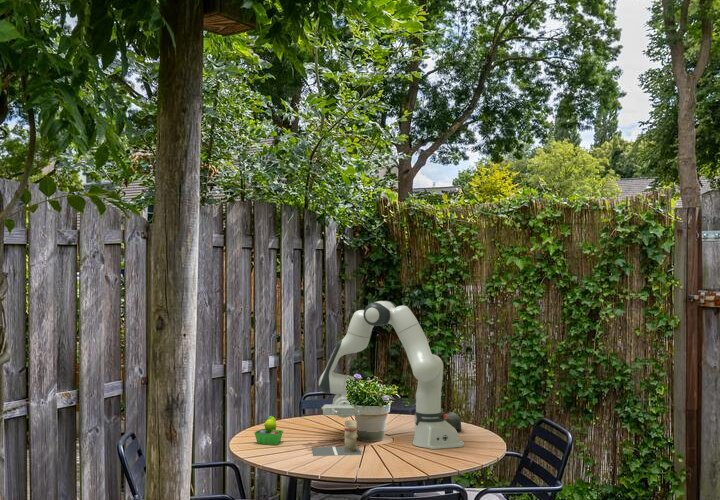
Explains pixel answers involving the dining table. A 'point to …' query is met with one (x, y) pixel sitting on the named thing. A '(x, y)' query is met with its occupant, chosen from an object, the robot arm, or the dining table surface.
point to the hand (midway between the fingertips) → (346, 413)
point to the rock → (454, 420)
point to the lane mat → (333, 451)
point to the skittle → (350, 436)
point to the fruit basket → (269, 433)
